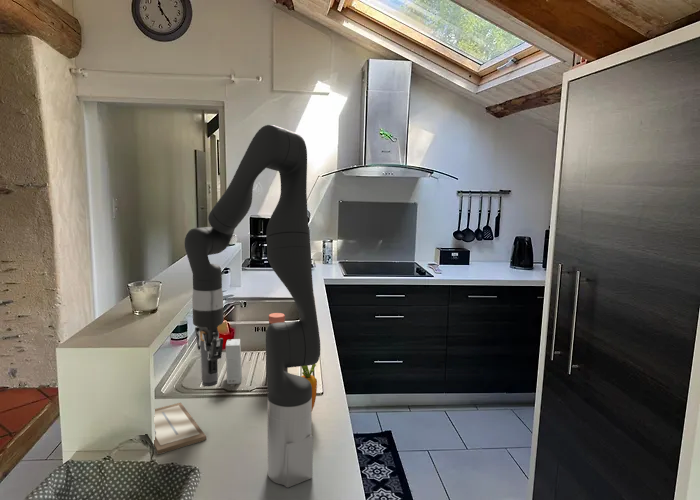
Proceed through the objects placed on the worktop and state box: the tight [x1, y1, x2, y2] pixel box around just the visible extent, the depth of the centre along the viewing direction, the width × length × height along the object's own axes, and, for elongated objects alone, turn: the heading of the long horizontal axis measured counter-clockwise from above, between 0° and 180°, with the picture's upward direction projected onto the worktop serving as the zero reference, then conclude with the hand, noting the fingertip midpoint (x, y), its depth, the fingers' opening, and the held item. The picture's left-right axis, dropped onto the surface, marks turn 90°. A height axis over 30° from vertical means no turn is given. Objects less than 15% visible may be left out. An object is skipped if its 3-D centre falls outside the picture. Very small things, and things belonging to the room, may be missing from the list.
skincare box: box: [225, 338, 243, 385], centre depth 147 cm, size 6×4×12 cm
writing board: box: [153, 402, 207, 455], centre depth 119 cm, size 20×11×2 cm, turn 36°
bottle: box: [265, 312, 289, 379], centre depth 149 cm, size 7×7×20 cm
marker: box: [200, 331, 219, 387], centre depth 124 cm, size 4×4×14 cm
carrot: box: [300, 363, 318, 411], centre depth 125 cm, size 5×5×15 cm
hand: (209, 369), depth 124 cm, fingers closed on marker, 4 cm apart
